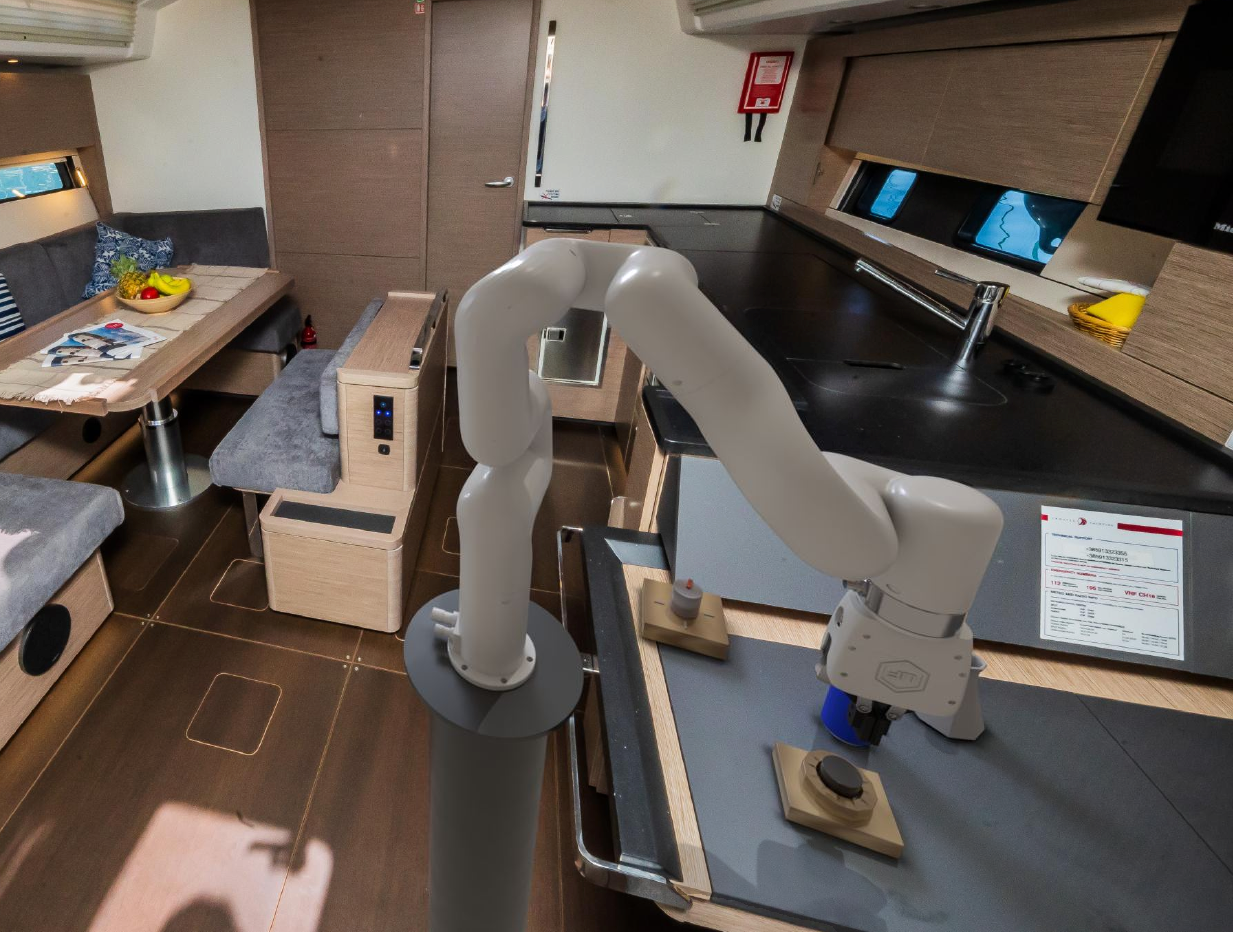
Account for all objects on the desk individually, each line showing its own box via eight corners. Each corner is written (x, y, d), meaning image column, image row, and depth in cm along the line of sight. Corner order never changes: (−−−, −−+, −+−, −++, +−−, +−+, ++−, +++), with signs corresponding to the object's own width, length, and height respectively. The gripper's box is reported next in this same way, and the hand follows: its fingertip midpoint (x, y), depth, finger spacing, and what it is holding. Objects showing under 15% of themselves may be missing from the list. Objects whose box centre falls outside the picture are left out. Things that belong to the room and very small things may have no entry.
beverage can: (856, 714, 77) (889, 628, 72) (879, 753, 72) (916, 664, 67) (811, 707, 78) (840, 621, 73) (831, 744, 74) (863, 656, 68)
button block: (785, 819, 66) (793, 796, 65) (771, 753, 73) (778, 731, 72) (898, 859, 62) (910, 836, 61) (873, 785, 69) (882, 763, 68)
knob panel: (642, 637, 90) (644, 621, 89) (641, 591, 98) (644, 576, 97) (725, 660, 85) (729, 644, 84) (717, 610, 94) (721, 595, 93)
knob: (695, 623, 88) (700, 601, 86) (666, 610, 90) (670, 589, 89) (700, 606, 91) (705, 584, 89) (672, 595, 93) (676, 573, 92)
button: (823, 790, 66) (826, 780, 65) (814, 760, 69) (818, 750, 68) (863, 804, 64) (867, 793, 64) (853, 772, 67) (857, 762, 67)
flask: (949, 747, 73) (976, 689, 69) (890, 694, 79) (913, 639, 76) (998, 736, 74) (1028, 679, 70) (936, 685, 80) (960, 630, 77)
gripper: (825, 606, 56) (787, 738, 63) (1039, 653, 50) (972, 794, 57) (806, 556, 63) (773, 680, 69) (994, 592, 57) (938, 725, 63)
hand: (863, 731), depth 63 cm, fingers closed
